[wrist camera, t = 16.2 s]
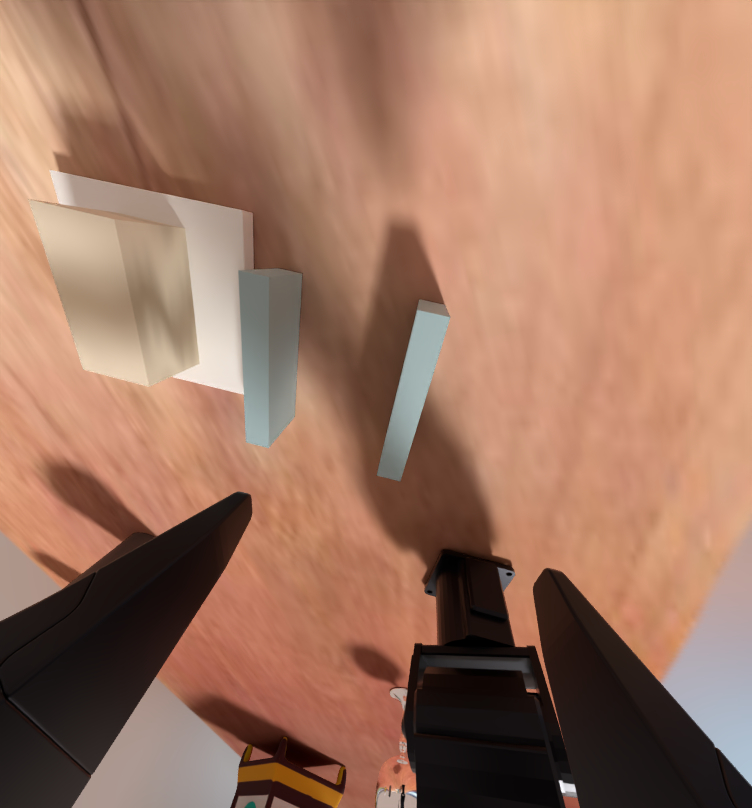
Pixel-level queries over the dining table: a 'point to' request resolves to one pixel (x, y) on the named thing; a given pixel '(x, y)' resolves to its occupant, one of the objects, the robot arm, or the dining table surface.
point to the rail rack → (278, 357)
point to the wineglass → (397, 773)
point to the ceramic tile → (208, 262)
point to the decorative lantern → (283, 784)
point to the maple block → (122, 290)
